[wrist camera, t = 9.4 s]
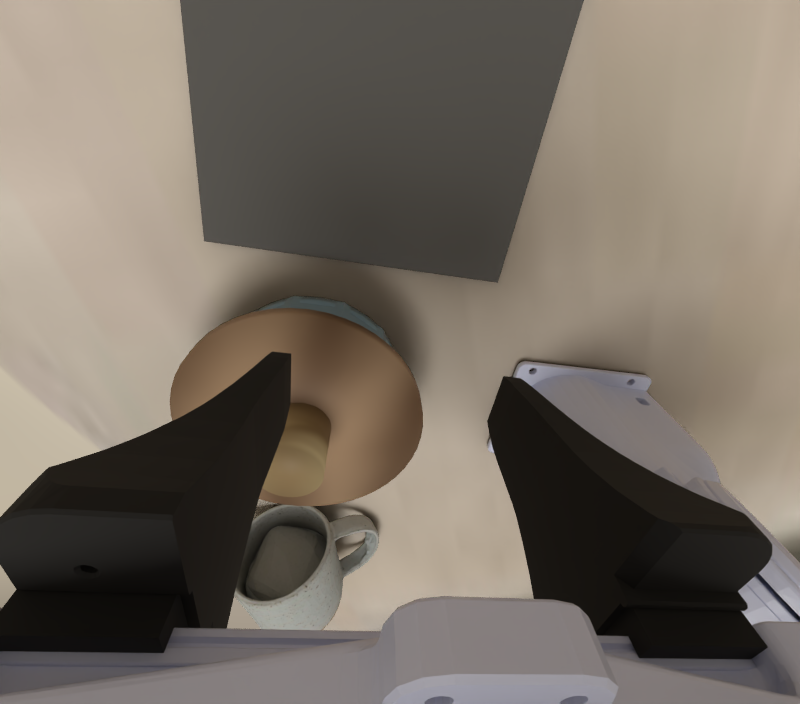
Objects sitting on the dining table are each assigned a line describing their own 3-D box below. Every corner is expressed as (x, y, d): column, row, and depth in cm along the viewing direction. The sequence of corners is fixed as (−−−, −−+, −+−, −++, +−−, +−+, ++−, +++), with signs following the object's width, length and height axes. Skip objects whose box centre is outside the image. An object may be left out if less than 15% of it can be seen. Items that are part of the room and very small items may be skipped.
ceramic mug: (271, 563, 35) (248, 663, 29) (242, 507, 31) (208, 609, 25) (384, 548, 35) (387, 645, 29) (371, 490, 31) (371, 588, 25)
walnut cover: (444, 326, 18) (459, 373, 15) (400, 502, 25) (404, 562, 21) (159, 290, 17) (102, 332, 13) (191, 487, 23) (159, 550, 20)
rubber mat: (596, -55, 15) (601, -59, 15) (495, 280, 22) (497, 282, 22) (168, -167, 13) (163, -174, 13) (207, 239, 20) (204, 241, 20)
